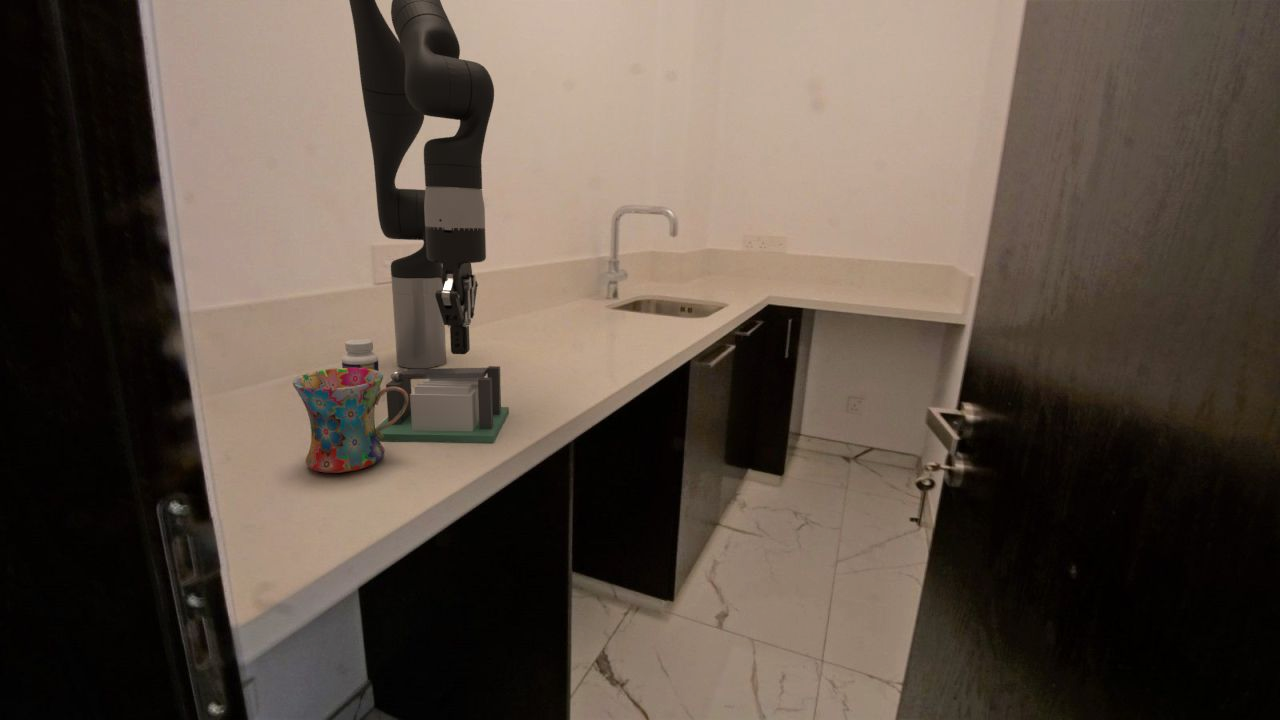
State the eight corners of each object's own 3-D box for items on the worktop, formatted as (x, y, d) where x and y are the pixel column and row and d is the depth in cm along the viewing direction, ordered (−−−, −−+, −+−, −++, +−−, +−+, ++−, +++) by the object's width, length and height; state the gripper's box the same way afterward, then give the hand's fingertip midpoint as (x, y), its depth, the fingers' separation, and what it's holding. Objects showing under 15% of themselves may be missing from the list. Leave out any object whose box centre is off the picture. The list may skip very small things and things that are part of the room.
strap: (398, 375, 82) (397, 368, 82) (488, 373, 83) (487, 366, 83) (391, 380, 80) (390, 373, 79) (483, 378, 80) (483, 371, 80)
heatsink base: (401, 411, 88) (398, 360, 86) (508, 413, 89) (507, 362, 87) (369, 440, 77) (365, 382, 75) (493, 443, 78) (491, 385, 76)
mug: (290, 482, 65) (280, 390, 62) (315, 450, 73) (307, 368, 71) (406, 475, 67) (400, 387, 65) (417, 445, 76) (412, 366, 74)
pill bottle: (366, 400, 93) (362, 346, 90) (337, 397, 94) (332, 343, 91) (387, 391, 98) (383, 339, 96) (359, 388, 99) (355, 337, 97)
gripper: (440, 222, 83) (445, 342, 87) (409, 224, 70) (417, 364, 74) (494, 224, 83) (497, 343, 87) (473, 226, 70) (477, 366, 75)
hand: (460, 352), depth 81 cm, fingers closed
